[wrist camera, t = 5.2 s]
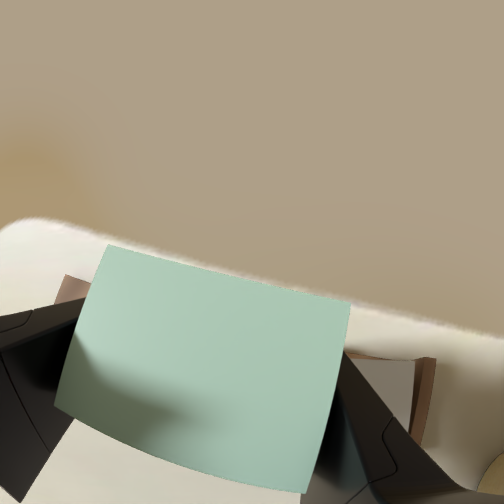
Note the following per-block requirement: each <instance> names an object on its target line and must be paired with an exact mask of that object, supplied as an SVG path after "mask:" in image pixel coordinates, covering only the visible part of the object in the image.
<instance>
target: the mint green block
mask: <svg viewBox="0 0 504 504" xmlns="http://www.w3.org/2000/svg"><path fill="white" fill-rule="evenodd" d="M350 306H351V303H349V302H344V301H339V300H335V299H330V298H325V297H321V296H316V295H312V294H307V293H303V292H298V291H294V290H289V289H285V288H281V287H276V286H272V285H268V284H263V283H259V282H255V281H250V280H246V279H242V278H238V277H234V276H229V275H225V274H221V273H217V272H213V271H209V270H205V269H201V268H197V267H193V266H189V265H185V264H181V263H177V262H173V261H169V260H165V259H161V258H157V257H154V256H150V255H146V254H142V253H138V252H134V251H131V250H127V249H123V248H119V247H116V246H112V245H107V248H106V250H105V252H104V254H103V257H102V259H101V262H100V264H99V266H98V269H97V271H96V274H95V276H94V279H93V281H92V284H91V286H90V289H89V291H88V294H87V297H86V299H85V302H84V305H83V308H82V310H81V313H80V316H79V319H78V322H77V325H76V328H75V331H74V334H73V337H72V340H71V343H70V346H69V350H68V353H67V356H66V360H65V363H64V367H63V371H62V374H61V378H60V382H59V386H58V390H57V394H56V398H55V402H54V406H55V407H57V408H58V409H60V410H62V411H63V412H65V413H67V414H68V415H70V416H72V417H74V418H75V419H77V420H79V421H81V422H83V423H84V424H86V425H88V426H90V427H92V428H94V429H96V430H98V431H100V432H101V433H103V434H105V435H108V436H110V437H112V438H114V439H116V440H118V441H120V442H122V443H124V444H127V445H129V446H131V447H133V448H136V449H138V450H141V451H143V452H145V453H148V454H150V455H153V456H155V457H158V458H161V459H163V460H166V461H169V462H171V463H174V464H177V465H180V466H183V467H186V468H189V469H192V470H195V471H199V472H202V473H205V474H209V475H212V476H216V477H220V478H223V479H227V480H231V481H235V482H240V483H244V484H249V485H253V486H258V487H264V488H269V489H275V490H281V491H287V492H294V493H302V494H306V491H307V488H308V485H309V482H310V479H311V476H312V473H313V469H314V466H315V463H316V460H317V456H318V453H319V449H320V446H321V442H322V439H323V435H324V432H325V428H326V424H327V420H328V416H329V412H330V408H331V404H332V400H333V395H334V391H335V387H336V382H337V378H338V373H339V368H340V363H341V358H342V353H343V348H344V342H345V337H346V331H347V325H348V319H349V313H350Z"/></svg>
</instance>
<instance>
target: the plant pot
mask: <svg viewBox="0 0 504 504" xmlns="http://www.w3.org/2000/svg"><path fill="white" fill-rule="evenodd" d="M477 492H482V493H489V494H497V495H504V452H503V453H502V454H501V455H499V456H498V457H497V458H496V459H495V460H494V461H493V462H492V464H491V465H490V466H489V468H488V469H487V470H486V472H485V474H484V475H483V477H482V479H481V481H480V484H479V486H478V489H477Z"/></svg>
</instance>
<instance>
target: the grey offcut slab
mask: <svg viewBox="0 0 504 504" xmlns="http://www.w3.org/2000/svg"><path fill="white" fill-rule="evenodd" d="M350 359H351V360H352V362H353V363H354V364H355V366H356V367H357V368H358V369H359V371H360V372H361V373H362V375H363V376H364V377H365V378H366V380H367V381H368V382H369V383H370V385H371V386H372V387H373V389H374V390H375V391H376V392H377V394H378V395H379V396H380V398H381V399H382V400H383V401H384V403H385V404H386V405H387V407H388V408H389V409H390V410H391V412H392V413H393V416H395V417H396V418H397V419H398V421H399V422H400V423H401V425H402V426H403V427H404V428H405V429H406V431H407V432H408V429H409V422H410V414H411V405H412V396H413V384H414V371H415V361H398V360H370V359H352V358H350Z"/></svg>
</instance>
